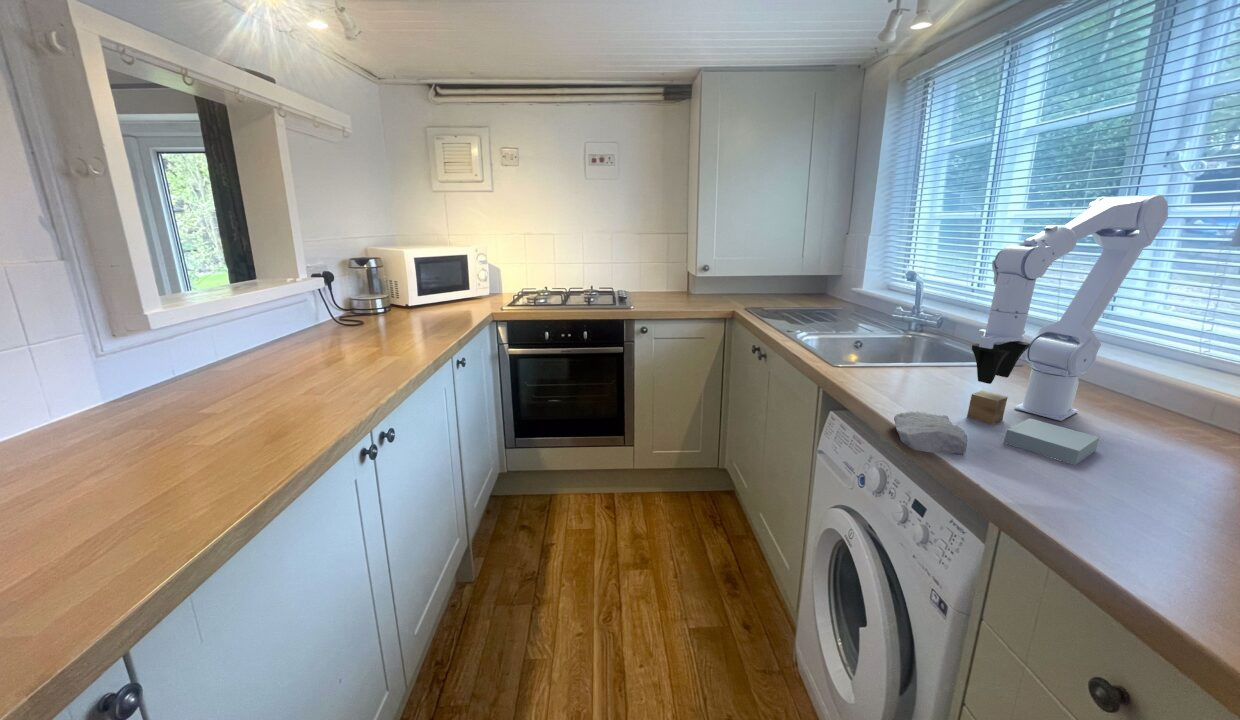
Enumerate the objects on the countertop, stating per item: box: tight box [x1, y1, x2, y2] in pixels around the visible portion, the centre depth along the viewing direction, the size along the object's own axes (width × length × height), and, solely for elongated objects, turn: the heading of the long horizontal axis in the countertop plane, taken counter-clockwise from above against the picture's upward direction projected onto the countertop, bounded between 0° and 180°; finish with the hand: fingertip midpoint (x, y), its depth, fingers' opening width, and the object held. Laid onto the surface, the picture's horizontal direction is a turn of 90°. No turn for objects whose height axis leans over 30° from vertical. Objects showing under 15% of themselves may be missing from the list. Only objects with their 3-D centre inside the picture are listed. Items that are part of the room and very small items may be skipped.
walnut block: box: [966, 390, 1008, 425], centre depth 100 cm, size 4×4×5 cm
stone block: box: [893, 411, 968, 455], centre depth 90 cm, size 12×5×10 cm
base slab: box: [1003, 417, 1100, 466], centre depth 88 cm, size 10×10×3 cm
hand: (993, 379), depth 98 cm, fingers open, 7 cm apart
